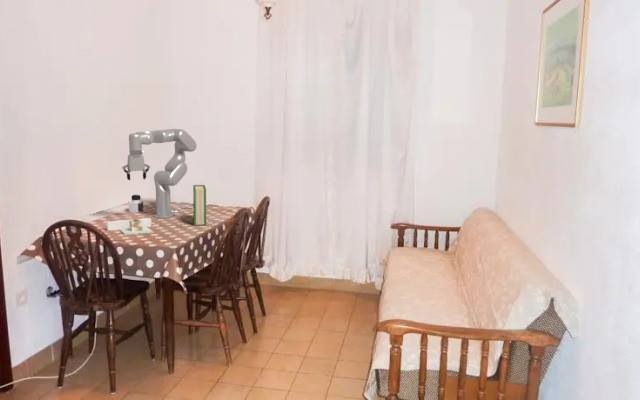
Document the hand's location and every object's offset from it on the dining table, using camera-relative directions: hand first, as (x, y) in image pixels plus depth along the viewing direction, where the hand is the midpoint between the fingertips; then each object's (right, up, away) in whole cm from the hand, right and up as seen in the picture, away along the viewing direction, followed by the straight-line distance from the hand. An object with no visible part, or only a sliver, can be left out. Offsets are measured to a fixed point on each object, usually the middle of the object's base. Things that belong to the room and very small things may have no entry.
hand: (136, 179), depth 347 cm
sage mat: (+7, -32, -23) cm, 40 cm away
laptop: (+20, -19, +65) cm, 71 cm away
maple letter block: (+7, -31, -23) cm, 39 cm away
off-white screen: (0, -31, -14) cm, 34 cm away
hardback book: (+39, -29, +7) cm, 49 cm away
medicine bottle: (-13, -22, +38) cm, 46 cm away
